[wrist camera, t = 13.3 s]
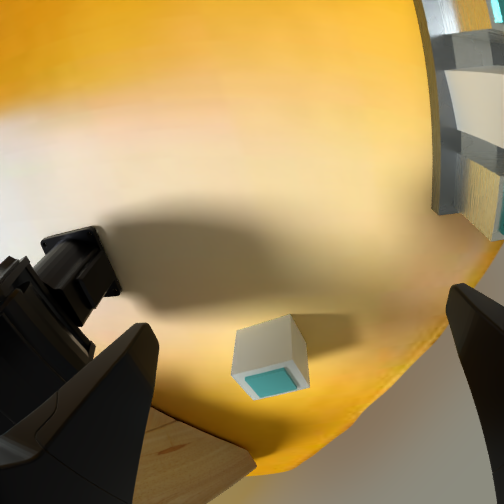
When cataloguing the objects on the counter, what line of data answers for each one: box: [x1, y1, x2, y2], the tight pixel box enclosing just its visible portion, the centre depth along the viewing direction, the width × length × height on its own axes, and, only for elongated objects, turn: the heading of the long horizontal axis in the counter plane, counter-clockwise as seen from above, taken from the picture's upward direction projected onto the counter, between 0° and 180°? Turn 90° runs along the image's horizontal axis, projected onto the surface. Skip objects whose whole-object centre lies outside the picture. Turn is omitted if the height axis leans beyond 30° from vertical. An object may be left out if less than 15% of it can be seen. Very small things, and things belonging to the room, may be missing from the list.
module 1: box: [231, 314, 310, 400], centre depth 25 cm, size 5×4×5 cm
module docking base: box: [413, 0, 504, 242], centre depth 12 cm, size 7×17×6 cm, turn 11°
